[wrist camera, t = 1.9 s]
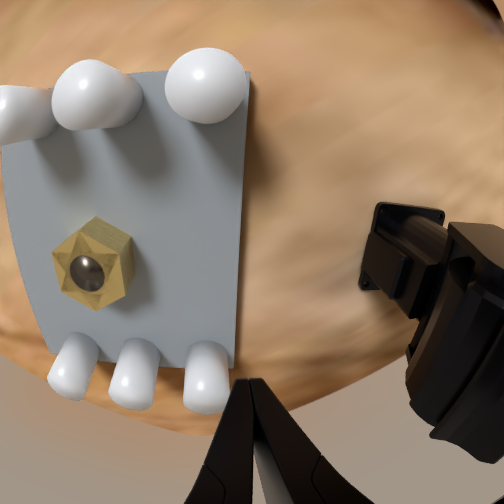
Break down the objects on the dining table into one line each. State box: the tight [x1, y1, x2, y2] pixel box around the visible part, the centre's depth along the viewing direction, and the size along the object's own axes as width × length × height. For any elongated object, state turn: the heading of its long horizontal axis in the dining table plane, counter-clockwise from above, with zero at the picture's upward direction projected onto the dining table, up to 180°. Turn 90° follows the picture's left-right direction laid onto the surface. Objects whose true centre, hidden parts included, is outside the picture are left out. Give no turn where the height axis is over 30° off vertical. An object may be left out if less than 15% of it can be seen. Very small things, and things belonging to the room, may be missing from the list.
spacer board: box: [0, 48, 250, 415], centre depth 14 cm, size 16×20×5 cm
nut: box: [51, 216, 135, 311], centre depth 15 cm, size 4×5×2 cm
